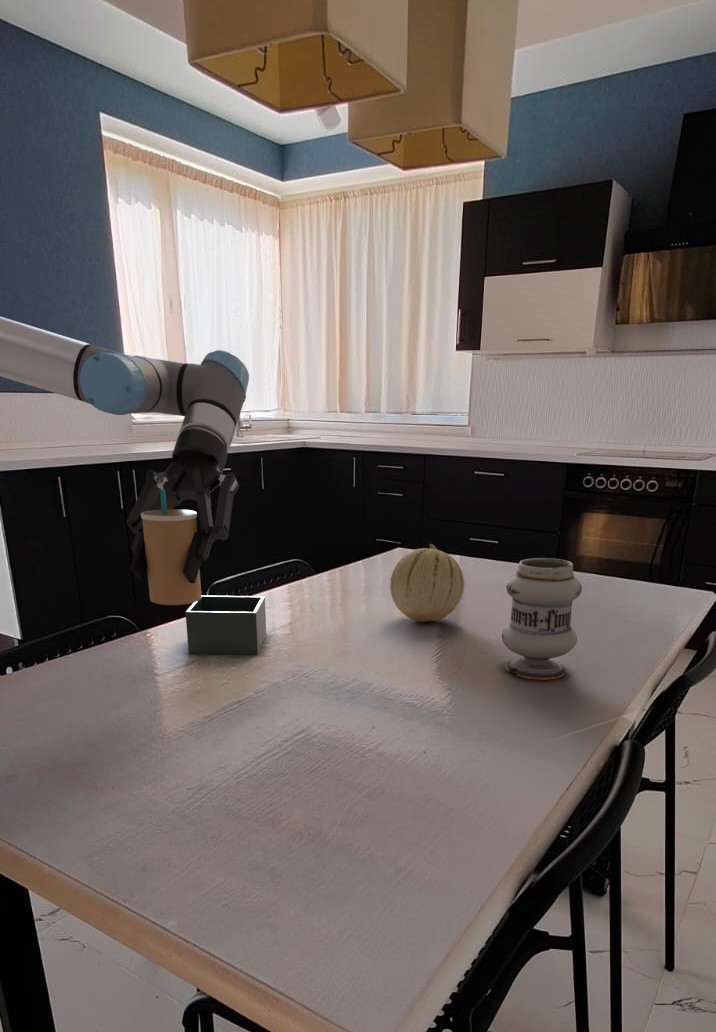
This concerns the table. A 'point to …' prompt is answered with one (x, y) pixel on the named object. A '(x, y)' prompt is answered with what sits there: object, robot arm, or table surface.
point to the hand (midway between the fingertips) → (162, 575)
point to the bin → (226, 625)
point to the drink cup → (169, 554)
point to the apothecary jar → (541, 617)
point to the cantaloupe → (427, 584)
